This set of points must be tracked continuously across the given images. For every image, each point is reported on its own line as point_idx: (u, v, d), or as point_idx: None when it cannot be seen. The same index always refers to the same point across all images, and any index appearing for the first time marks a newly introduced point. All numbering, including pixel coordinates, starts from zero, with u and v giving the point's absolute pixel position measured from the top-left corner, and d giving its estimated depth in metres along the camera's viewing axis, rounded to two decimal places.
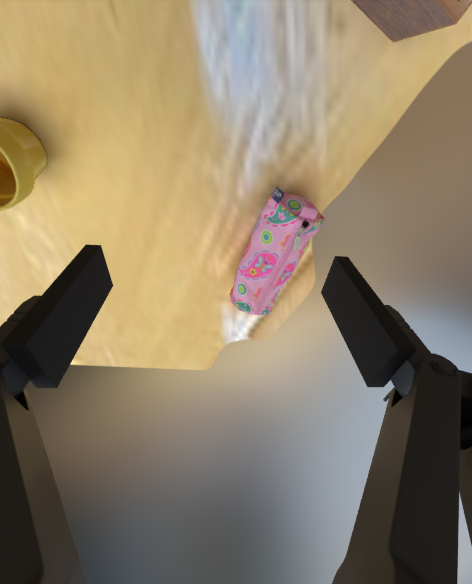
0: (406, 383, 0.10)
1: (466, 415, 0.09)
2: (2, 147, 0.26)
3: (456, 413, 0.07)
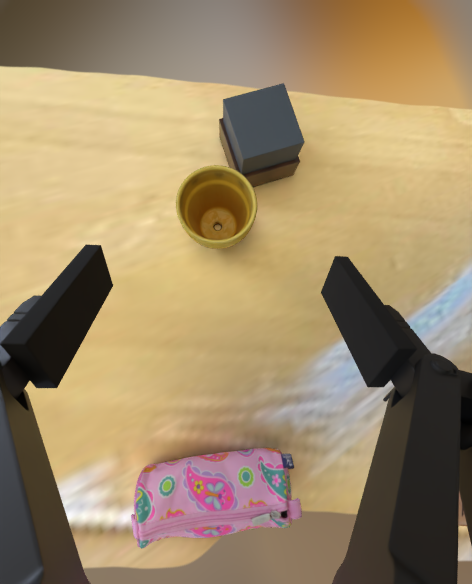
0: (406, 383, 0.10)
1: (466, 415, 0.09)
2: (243, 233, 0.31)
3: (456, 413, 0.07)
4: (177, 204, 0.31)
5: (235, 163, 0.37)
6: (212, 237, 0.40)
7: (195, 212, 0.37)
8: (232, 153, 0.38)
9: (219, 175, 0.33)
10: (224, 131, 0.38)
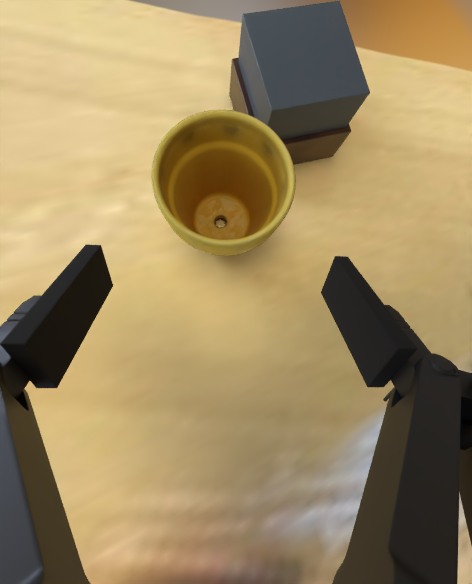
0: (406, 383, 0.10)
1: (466, 415, 0.09)
2: (269, 231, 0.18)
3: (456, 413, 0.07)
4: (154, 171, 0.17)
5: None
6: (211, 238, 0.26)
7: (187, 196, 0.23)
8: (250, 110, 0.24)
9: (231, 132, 0.19)
10: (239, 77, 0.25)
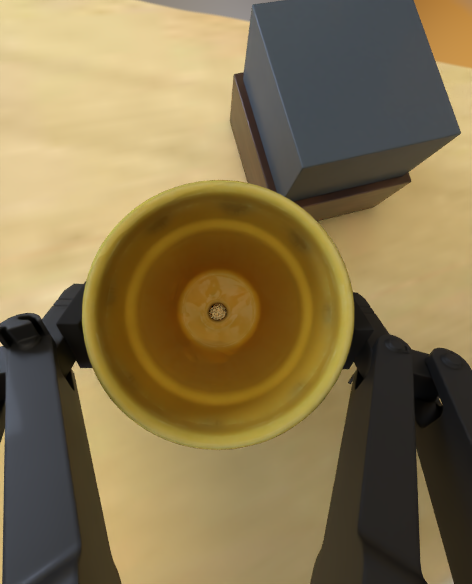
0: (366, 365, 0.10)
1: (419, 392, 0.10)
2: None
3: (410, 388, 0.08)
4: (86, 307, 0.09)
5: (267, 176, 0.16)
6: (204, 337, 0.18)
7: (165, 290, 0.15)
8: (261, 153, 0.16)
9: (234, 209, 0.11)
10: (244, 102, 0.16)
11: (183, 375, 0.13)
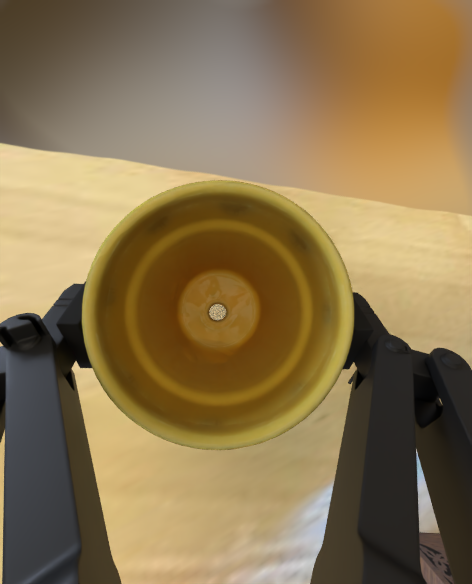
0: (366, 365, 0.10)
1: (419, 392, 0.10)
2: None
3: (410, 388, 0.08)
4: (85, 307, 0.09)
5: None
6: (204, 337, 0.18)
7: (165, 290, 0.15)
8: None
9: (234, 209, 0.11)
10: None
11: (183, 375, 0.13)
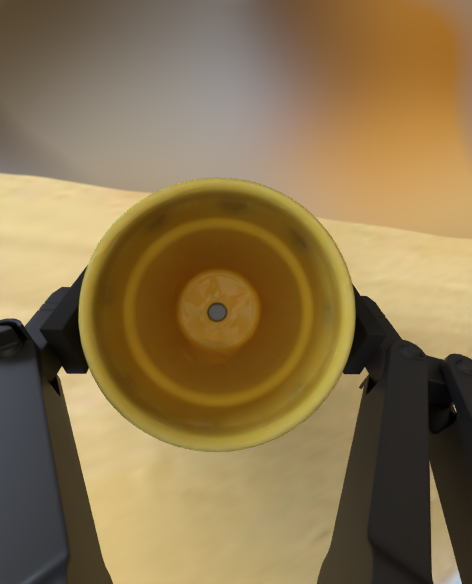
0: (378, 370, 0.10)
1: (433, 399, 0.09)
2: (309, 413, 0.09)
3: (424, 395, 0.08)
4: (82, 306, 0.09)
5: None
6: (204, 337, 0.17)
7: (164, 289, 0.15)
8: None
9: (233, 208, 0.11)
10: None
11: (182, 376, 0.12)
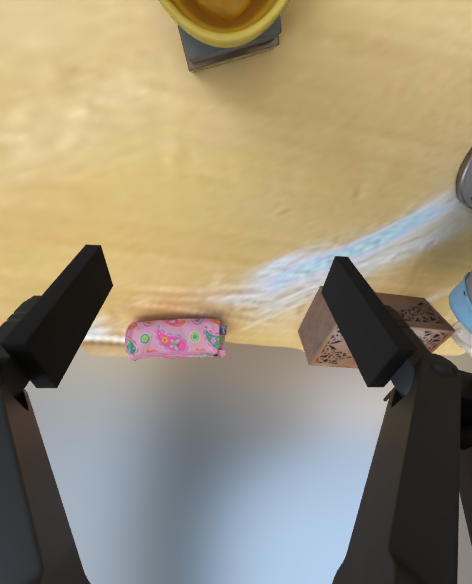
0: (406, 383, 0.10)
1: (466, 415, 0.09)
2: (271, 21, 0.16)
3: (456, 413, 0.07)
4: None
5: None
6: (209, 1, 0.21)
7: None
8: None
9: None
10: None
11: (194, 13, 0.18)
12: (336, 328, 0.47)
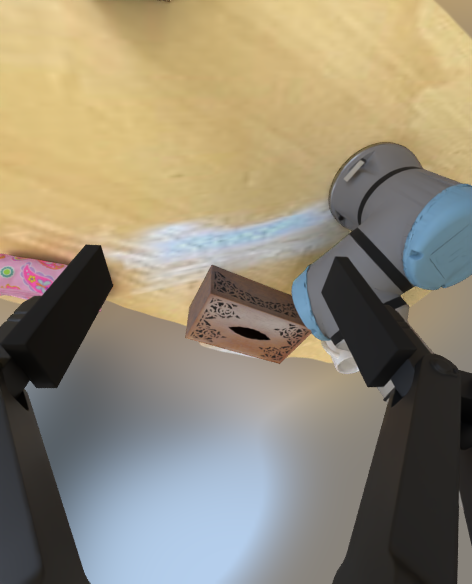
0: (406, 383, 0.10)
1: (466, 415, 0.09)
2: None
3: (456, 413, 0.07)
4: None
5: None
6: None
7: None
8: None
9: None
10: None
11: None
12: (209, 302, 0.49)
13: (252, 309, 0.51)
